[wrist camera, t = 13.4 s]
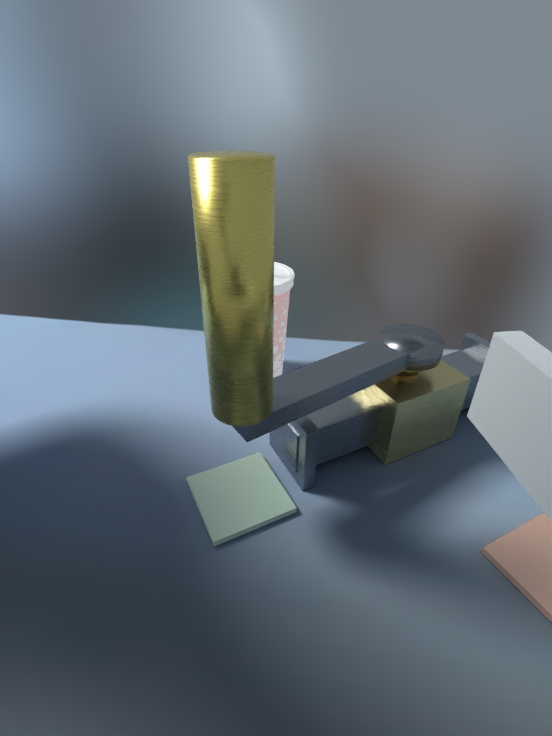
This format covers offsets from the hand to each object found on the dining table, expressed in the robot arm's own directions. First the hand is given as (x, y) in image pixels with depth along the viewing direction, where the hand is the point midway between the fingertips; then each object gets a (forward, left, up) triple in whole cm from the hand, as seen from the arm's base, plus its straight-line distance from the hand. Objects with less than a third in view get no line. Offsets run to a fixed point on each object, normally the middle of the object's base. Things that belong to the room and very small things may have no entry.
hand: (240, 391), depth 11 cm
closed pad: (+15, -4, -14) cm, 21 cm away
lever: (+9, +8, -8) cm, 14 cm away
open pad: (+3, +8, -14) cm, 16 cm away
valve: (+15, +9, -14) cm, 22 cm away
